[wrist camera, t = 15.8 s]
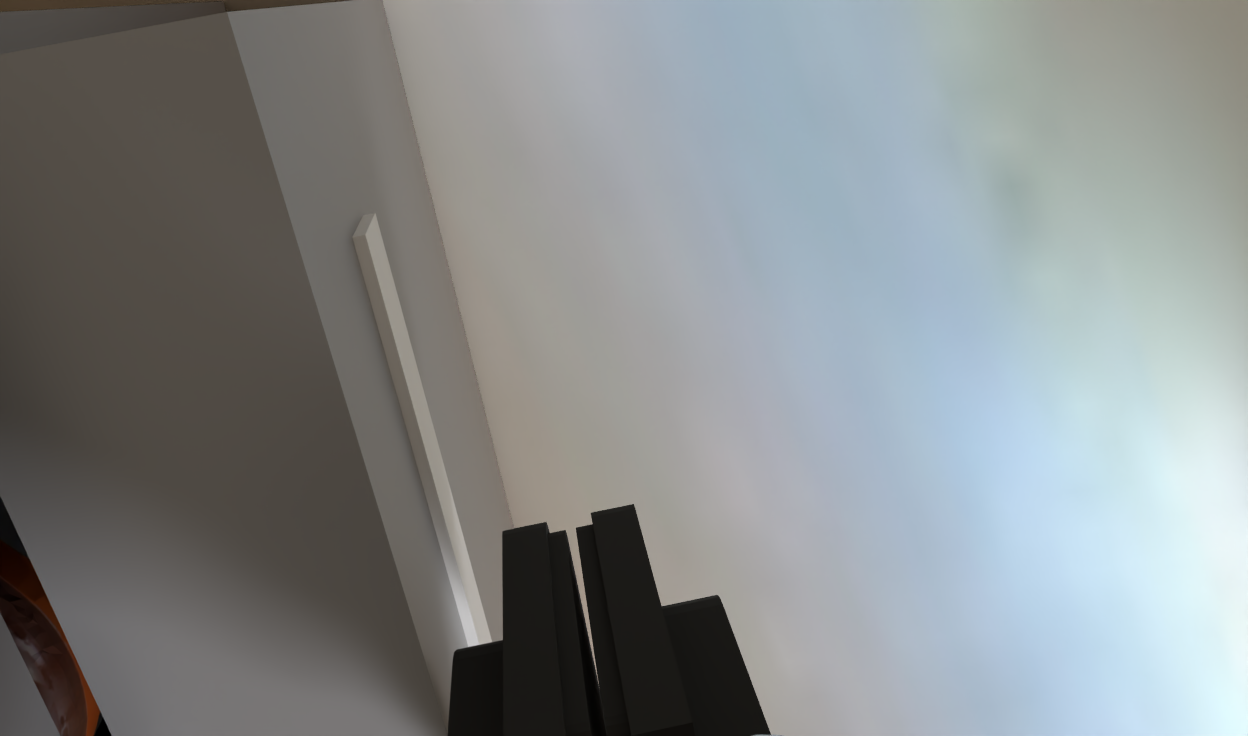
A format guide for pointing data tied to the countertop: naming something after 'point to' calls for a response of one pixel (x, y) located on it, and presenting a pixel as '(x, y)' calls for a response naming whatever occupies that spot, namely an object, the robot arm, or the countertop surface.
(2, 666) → the box
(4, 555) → the supplement bottle
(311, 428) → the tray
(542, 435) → the countertop surface
